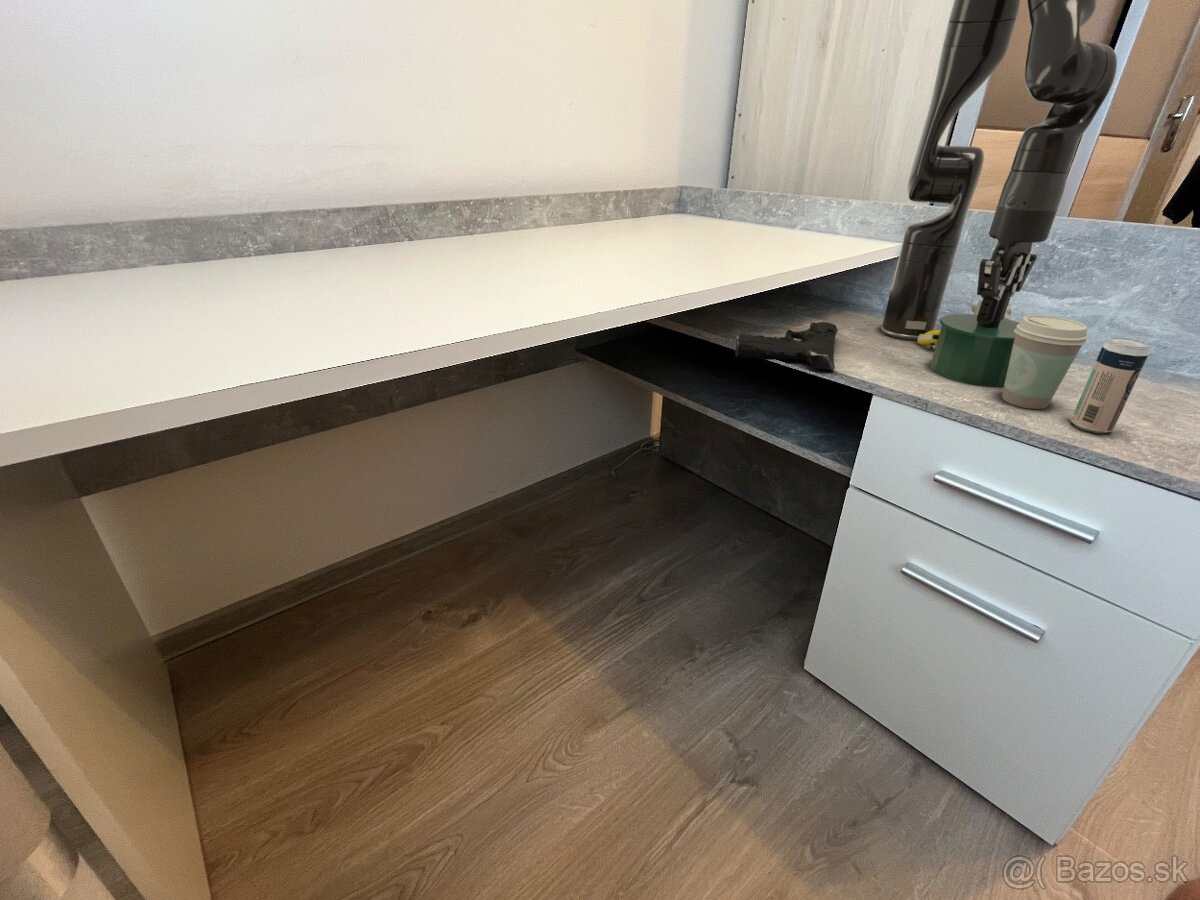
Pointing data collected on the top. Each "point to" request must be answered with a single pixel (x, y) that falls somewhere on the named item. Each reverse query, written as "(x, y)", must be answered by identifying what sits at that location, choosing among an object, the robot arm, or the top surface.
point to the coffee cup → (1041, 359)
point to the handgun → (792, 346)
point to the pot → (971, 358)
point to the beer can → (1110, 384)
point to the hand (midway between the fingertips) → (989, 320)
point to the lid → (988, 331)
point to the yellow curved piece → (929, 338)
